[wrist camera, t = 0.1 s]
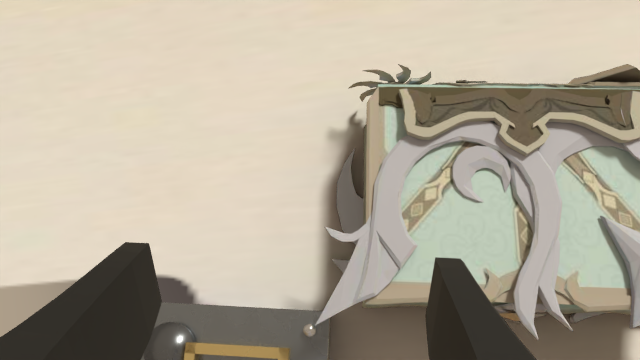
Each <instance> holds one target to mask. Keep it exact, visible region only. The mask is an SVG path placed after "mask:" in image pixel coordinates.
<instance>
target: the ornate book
mask: <svg viewBox="0 0 640 360" xmlns="http://www.w3.org/2000/svg"><path fill="white" fill-rule="evenodd" d="M398 65H399V64H398ZM399 66H400V67H401V68H402V69H403V72H401V73H399V74H397V75H396V77H397V79H398V80H399V81H398V82H395V80H394V79H393V77H392V76H391V75H390V74H388V73H386V72H384V71H380V70H364V71H366V72H372V73H376V74H378V75H380V80H383V81H388V83H382V82H373V81H368V82H358V83H355V84H353V85H352V86H350V87H349V88H352V87H355V86H368V87H370V88H373V87H377V88H375V89H371V90H368V91H366V92H364V93H362V94H361V96H360V99H361V101H363V100H364V98H365V97H366V96H369V95H372V96H371V97H370V99H369V100H368V102H367V124H366V125H365V127H364V195H363V198H361V197H360V196H358V195H357V194H356V192H355V189H354V186H353V183H352V175H351V164H352V159H353V155H354V151H355V148H354V150H353V151H352V153H351V154H350V155H349V157H348V158H347V160H346V161H345V164H344V166H343V169H342V171H341V174H340V176H339V179H338V182H337V210H338V214H339V218H340V222H341V227H342V231H343V232H344V233H342V232H339V231H337V230H334V229H331V228H328V227H325V228H326V230H327V231H328V232H329V234H330V235H331V237H333V238H335V239H337V240H339V241H341V242H353V243H354V244H355V245H356V247H355V250H354V252H353V254H352V256H351V259H350V261H348V260H339V259H331V260H332V261H333V262H334V263H335V264H336V265H337V267H338V268H339V269H340V270H341V271H342V272H343V273H344V274H343V276H342V277H341V279H340V281H339V283H338V285H337V286H336V288H335V290H334V292H333V294H332V296H331V297H330V299H329V301H328V303H327V305H326V306H325V308H324V310H323V312H322V314H321V316H320V317H319V319H318V321H317V323H316V325H317V324H319V323H321V322H322V321H324V320H326V319H328V318H330V317H332V316H334V315H335V314H337V313H339V312H341V311H343V310H345V309H347V308H349V307H351V306H353V305H355V304H357V303H359V302H361V301H362V308H381V307H400V306H424V307H427V305H428V299H429V293H430V287H431V280H432V274H433V268H434V262H435V257H439V258H459V259H461V260H462V261H463V262H464V263H465V265H466V266H467V268H468V269H469V271H470V272H471V274H472V276H473V277H474V279H475V280H476V282H477V283H478V285H479V286H480V288H481V289H482V290H483V292H484V293H485V295H486V296H487V298H488V299H489V300H490V302H491V303H492V305H493V306H494V307H495V309H496V310H497V311H498V313H499V314H500V315H501V316H502V317H505V318H508V319H511V320H514V321H521V323H522V325H523V326H524V327H525V328H526V329H527V330H528V331H529V332H530V333H531V334H532V335H533V336H534V337H535V338H536V339H537V340H539V339H538V335H537V332H536V329H535V326H534V317H540V316H544V315H543V314H535V312H545V311H547V312H548V313H549V314H551V315H552V316H553V317H554V318H556V319H557V320H558V321H559V322H561V323H562V324H563V325H564V326H566V327H567V328H568V329H569V330H571V331H573V330H572V328H571V327H570V325H569V324H568V322H567V321H566V319H565V318H564V316H563V315H562V314H571V313H573V314H572V315H571V316H570V321H571V323H576V322H578V321H581V320H583V319H586V318H589V317H593V316H597V315H601V314H605V313H619V314H627V315H631V316H630V328H634V327H638V326H640V70H638V69H637V68H636V67H633V66H631V65H629V64H626V65H623V66H619V67H616V68H613V69H610V70H606V71H603V72H600V73H597V74H593V75H590V76H585V77H580V78H574V79H573V80H572V81H571V82H570V83H568V84H510V83H483V82H485V81H466V80H463V81H456V83H436V84H432V85H420V84H422V83H424V82H427V81H428V80H429V79H430V78H431V72H430V73H428V74H427V75H426V76H425V77H422V78H411V79H410V80H409V81H408V82H406V81H407V80H408V79H409V77H410V73H411V71H410V70H409V69H408V68H407V67H404V66H402V65H399ZM405 82H406V83H405ZM403 83H405V84H403ZM468 83H478V84H468Z"/></svg>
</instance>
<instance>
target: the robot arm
mask: <svg viewBox="0 0 640 360" xmlns="http://www.w3.org/2000/svg"><path fill="white" fill-rule="evenodd" d="M161 303H162V300H161V296H160V292H159V287H158V282H157V278H156V273H155V269H154V264H153V259H152V255H151V250H150V246H149V243H129V242H125V243H124V244H123V245H122V246H120V247H119V248H118V249H116V250H115V251H114V252H113V253H111V254H110V255H109V256H108V257H106V258H105V259H104V260H103V261H102V262H100V263H99V264H98V265H97V266H95V267H94V268H93V269H92V270H91V271H89V272H88V273H87V274H86V275H84V276H83V277H82V278H81V279H79V280H78V281H77V282H76V283H74V284H73V285H72V286H71V287H70V288H68V289H67V290H66V291H64V292H63V293H62V294H61V295H59V296H58V297H57V298H55V299H54V300H52V301H51V302H50V303H48V304H47V305H46V306H44V307H43V308H42V309H40V310H39V311H38V312H36V313H35V314H33V315H32V316H31V317H29V318H28V319H27V320H25V321H24V322H23V323H21V324H20V325H18V326H17V327H15V328H14V329H12V330H11V331H9V332H8V333H6V334H5V335H3V336H2V337H0V360H141V358H142V356H143V354H144V352H145V350H146V347H147V345H148V343H149V341H150V338H151V335H152V332H153V329H154V326H155V323H156V320H157V317H158V313H159V310H160V307H161ZM426 329H427V341H428V352H429V359H430V360H536V358H535V357H534V356H533V355H532V354H531V353H530V351H529V350H528V349H527V348H526V347H525V346H524V344H523V343H522V342H521V341H520V340H519V338H518V337H517V336H516V335H515V333H514V332H513V331H512V330H511V328H510V327H509V326H508V324H507V323H506V322H505V321H504V319H503V318H502V317H501V315H500V314H499V313H498V311H497V310H496V309H495V307H494V306H493V305H492V303H491V302H490V300H489V299H488V298H487V296H486V295H485V293H484V292H483V290H482V289H481V288H480V286H479V285H478V283H477V282H476V280H475V279H474V277H473V276H472V274H471V272H470V271H469V269H468V268H467V266H466V265H465V263H464V262H463V261H462V260H461V259H459V258H439V257H435V262H434V268H433V274H432V280H431V287H430V293H429V299H428V305H427V311H426Z"/></svg>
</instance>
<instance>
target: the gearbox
mask: <svg viewBox="0 0 640 360" xmlns="http://www.w3.org/2000/svg"><path fill="white" fill-rule="evenodd" d="M322 312H323V311H307V310H289V309H271V308H253V307H236V306H218V305H200V304H182V303H163V302H162V303H161V307H160V310H159V313H158V317H157V320H156V323H155V326H154V329H153V332H152V335H151V338H150V341H149V343H148V345H147V347H146V350H145V352H144V354H143V356H142V358H141V360H328V358H329V337H330V318H328V319H326V320H324V321H322V322H321V323H319V324H317V325H316V323H317V321H318V319H319V317H320V316H321V314H322Z"/></svg>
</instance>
